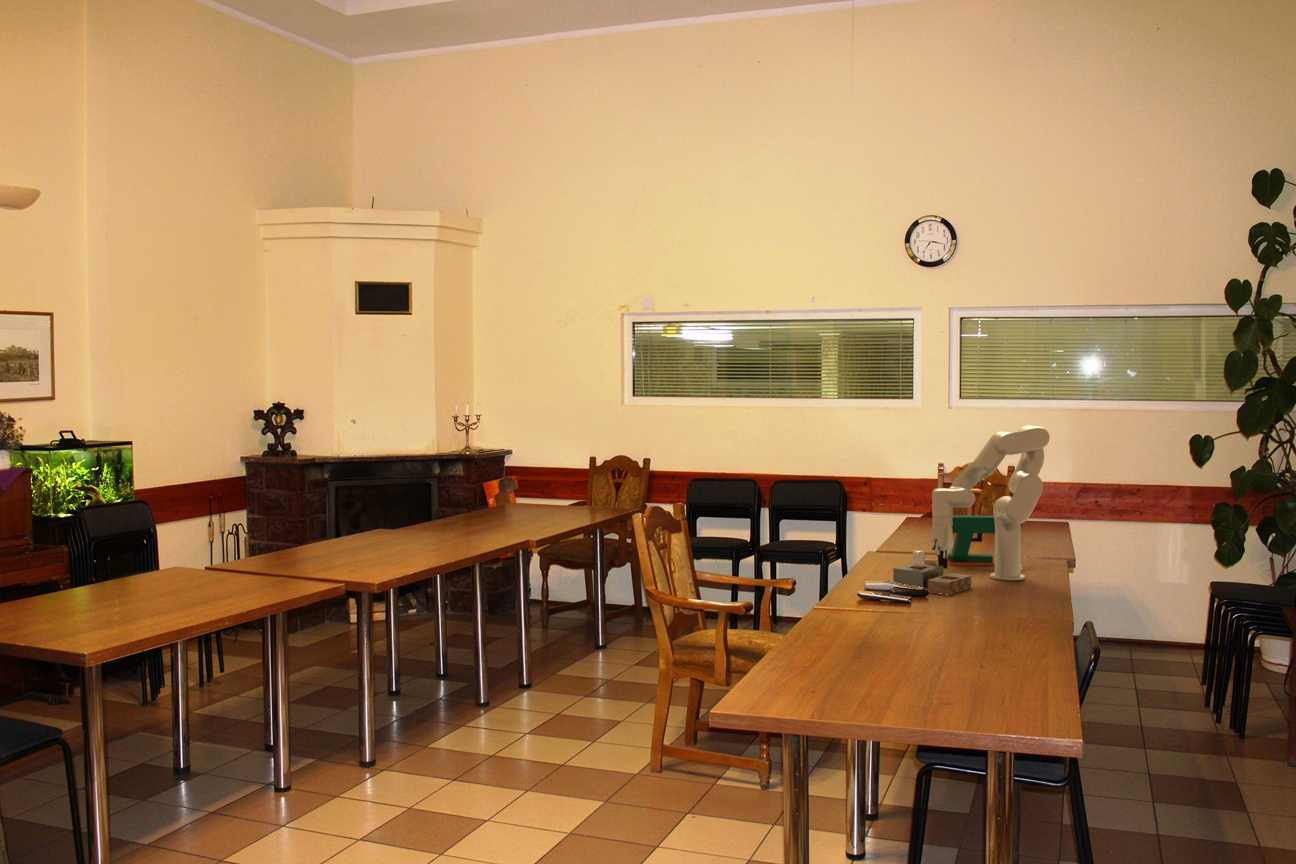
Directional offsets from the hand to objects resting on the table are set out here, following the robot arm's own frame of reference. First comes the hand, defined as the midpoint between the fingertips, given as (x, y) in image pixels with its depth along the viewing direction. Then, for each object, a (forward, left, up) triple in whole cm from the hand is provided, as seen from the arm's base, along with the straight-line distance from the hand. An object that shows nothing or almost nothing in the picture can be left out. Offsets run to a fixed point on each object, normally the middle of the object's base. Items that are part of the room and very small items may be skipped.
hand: (942, 567), depth 409 cm
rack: (+19, +12, -4) cm, 23 cm away
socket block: (+19, 0, -4) cm, 19 cm away
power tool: (-43, -2, -5) cm, 44 cm away
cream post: (+19, 0, -4) cm, 19 cm away
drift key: (+12, 0, -3) cm, 12 cm away
